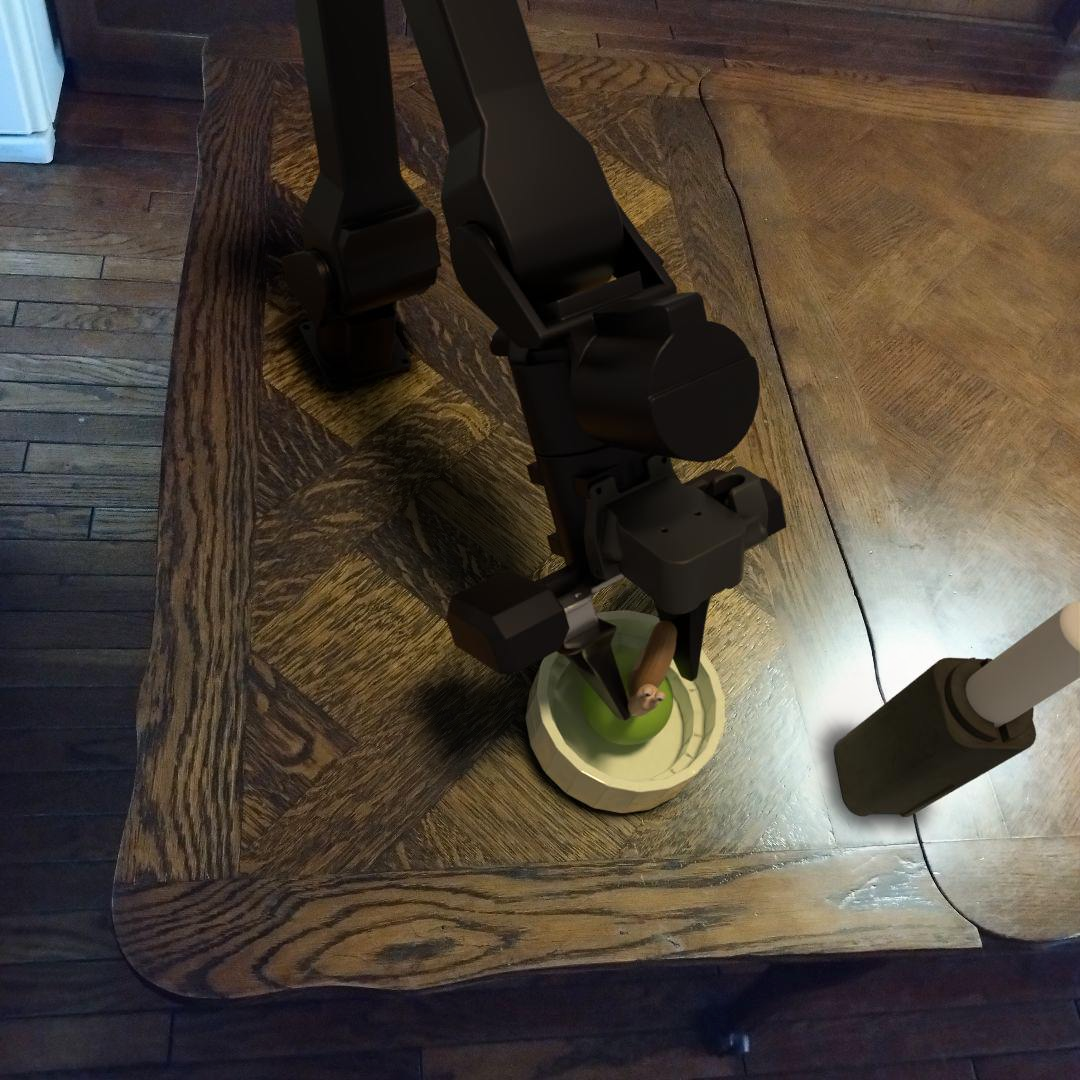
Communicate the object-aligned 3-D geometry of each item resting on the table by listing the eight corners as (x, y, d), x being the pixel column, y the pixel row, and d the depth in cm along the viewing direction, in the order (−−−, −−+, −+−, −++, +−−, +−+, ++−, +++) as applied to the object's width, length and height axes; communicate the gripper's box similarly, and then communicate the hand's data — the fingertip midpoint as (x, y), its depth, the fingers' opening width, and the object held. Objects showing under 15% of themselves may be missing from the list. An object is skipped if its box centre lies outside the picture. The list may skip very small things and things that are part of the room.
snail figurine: (557, 752, 59) (602, 677, 49) (588, 661, 63) (636, 573, 52) (642, 784, 59) (705, 716, 49) (668, 691, 63) (732, 609, 52)
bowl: (732, 768, 62) (761, 741, 57) (579, 848, 57) (598, 825, 53) (642, 620, 66) (662, 585, 62) (493, 684, 62) (504, 651, 58)
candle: (903, 739, 65) (1174, 545, 44) (921, 817, 62) (1219, 651, 41) (830, 737, 64) (1070, 538, 43) (846, 816, 61) (1109, 645, 40)
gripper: (509, 538, 39) (603, 850, 44) (839, 382, 47) (885, 665, 52) (401, 497, 48) (489, 758, 54) (691, 373, 56) (742, 613, 61)
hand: (656, 698), depth 55 cm, fingers closed on snail figurine, 4 cm apart
